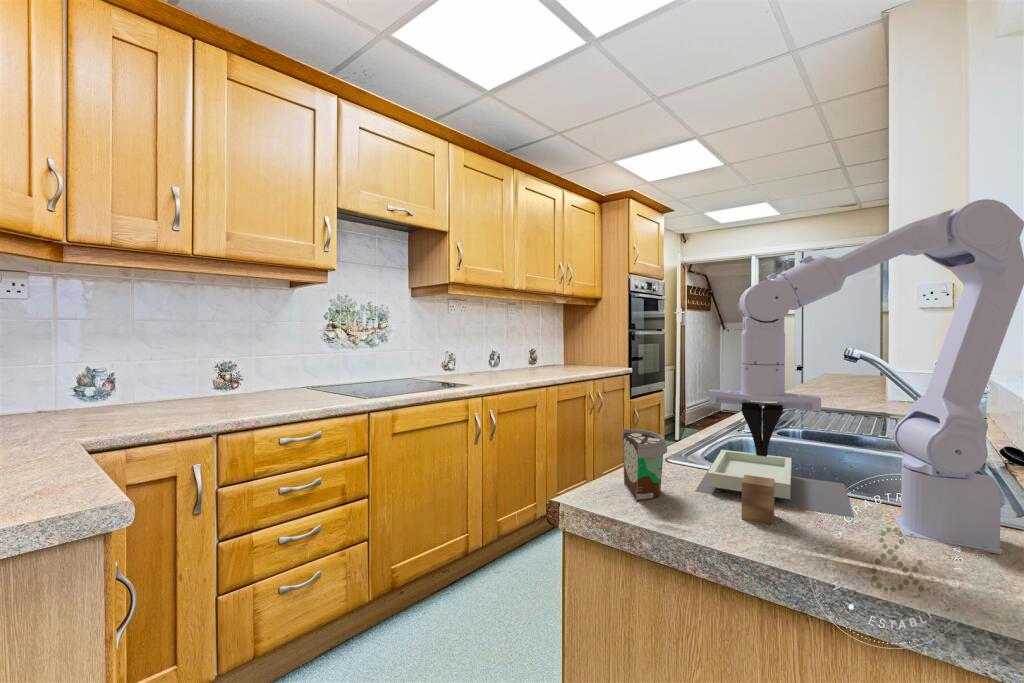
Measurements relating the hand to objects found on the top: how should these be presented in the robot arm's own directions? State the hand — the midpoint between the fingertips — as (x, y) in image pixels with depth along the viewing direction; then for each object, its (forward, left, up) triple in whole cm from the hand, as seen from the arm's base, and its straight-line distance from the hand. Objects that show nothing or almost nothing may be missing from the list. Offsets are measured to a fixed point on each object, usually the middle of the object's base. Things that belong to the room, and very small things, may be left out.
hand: (761, 454), depth 69 cm
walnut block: (0, +2, -10) cm, 10 cm away
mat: (-1, -14, -10) cm, 17 cm away
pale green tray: (+2, -14, -9) cm, 17 cm away
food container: (+17, -1, -10) cm, 20 cm away
